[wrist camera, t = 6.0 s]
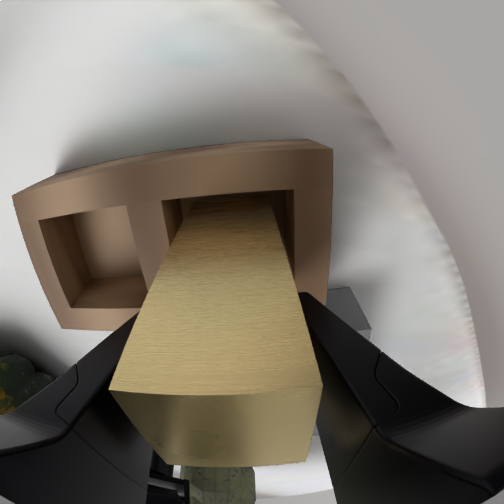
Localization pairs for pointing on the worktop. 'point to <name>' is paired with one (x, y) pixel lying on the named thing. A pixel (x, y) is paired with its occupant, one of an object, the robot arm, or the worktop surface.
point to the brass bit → (222, 346)
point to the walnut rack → (166, 220)
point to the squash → (19, 381)
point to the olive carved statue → (220, 484)
